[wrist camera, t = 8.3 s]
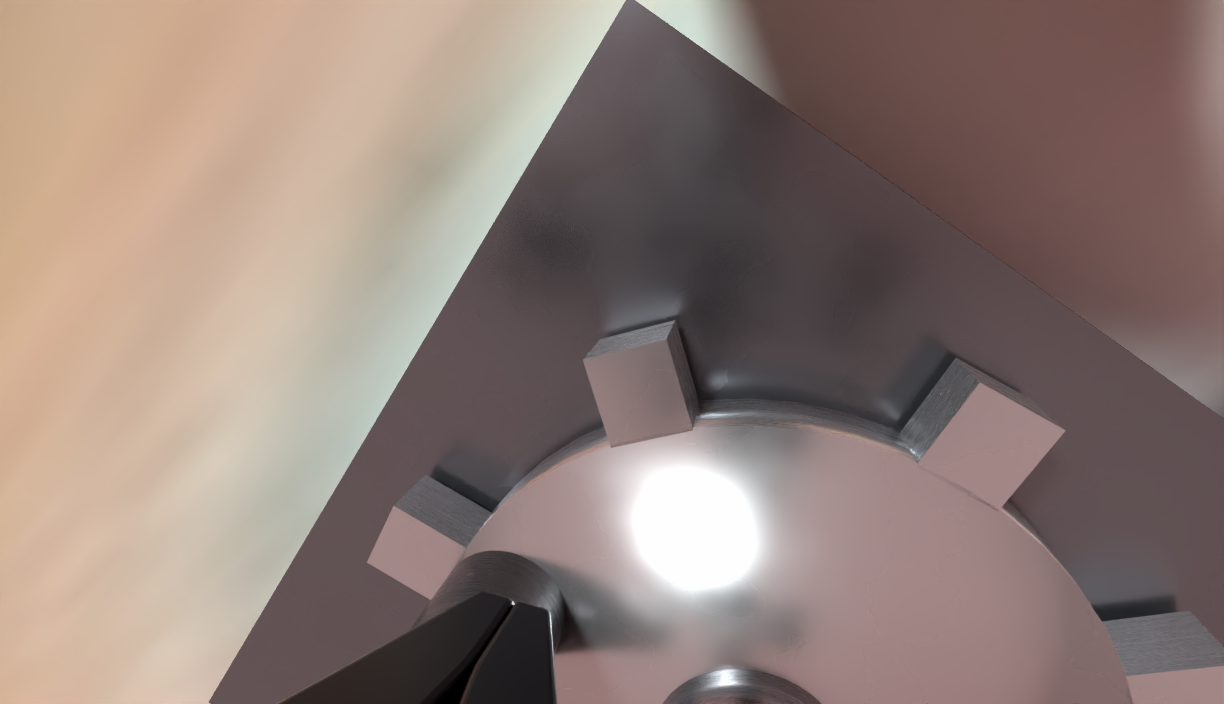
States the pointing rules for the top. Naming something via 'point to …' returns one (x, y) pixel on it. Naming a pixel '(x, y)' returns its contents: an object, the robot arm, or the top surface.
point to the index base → (742, 348)
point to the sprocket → (792, 554)
